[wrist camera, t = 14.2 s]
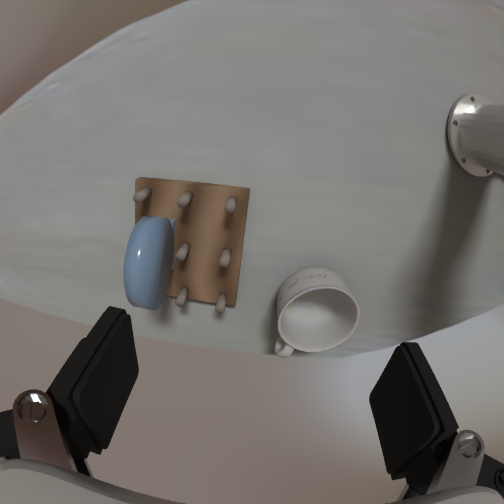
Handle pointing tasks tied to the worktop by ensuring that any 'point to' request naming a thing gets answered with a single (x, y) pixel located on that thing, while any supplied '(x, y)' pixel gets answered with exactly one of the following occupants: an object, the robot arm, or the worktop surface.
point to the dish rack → (199, 235)
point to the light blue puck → (149, 261)
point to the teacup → (314, 312)
